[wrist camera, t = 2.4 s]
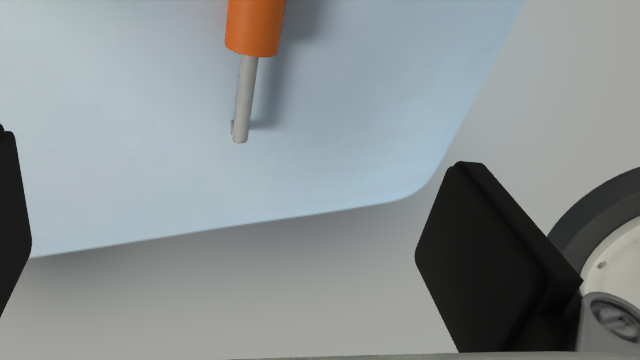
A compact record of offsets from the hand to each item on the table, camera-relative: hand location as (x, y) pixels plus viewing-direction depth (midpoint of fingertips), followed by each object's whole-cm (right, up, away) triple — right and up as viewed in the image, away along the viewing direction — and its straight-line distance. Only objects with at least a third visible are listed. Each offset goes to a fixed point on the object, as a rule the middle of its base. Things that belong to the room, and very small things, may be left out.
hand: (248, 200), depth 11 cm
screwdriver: (-2, +8, +16) cm, 18 cm away
